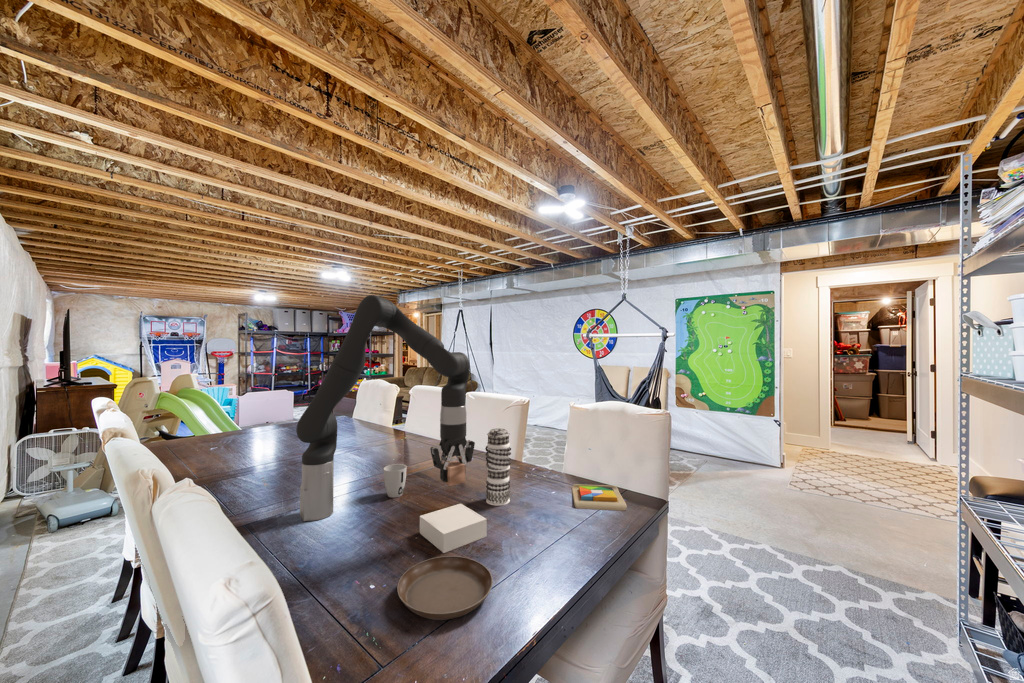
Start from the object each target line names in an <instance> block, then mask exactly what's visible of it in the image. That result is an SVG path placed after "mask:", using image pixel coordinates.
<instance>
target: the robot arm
mask: <svg viewBox="0 0 1024 683" xmlns="http://www.w3.org/2000/svg"><path fill="white" fill-rule="evenodd" d="M354 313H355V314H354V315H353V318H352V321H351V323H350V325H349V328H348V331H347V333H346V336H345V338H344V339H343V342H342V343H341V346H340V347H339V350H338V351H337V353H336V355H335V357H334V359H333V360H332V362H331V364H330V366H329V368H328V370H327V372H326V374H325V376H324V378H323V379H322V382H321V384H320V385H319V387H318V389H317V391H316V394H315V395H314V397H313V399H312V400H311V401H310V403H309V405H308V406H307V407H306V409H305V411H304V412H303V413H302V415H301V416H300V418H299V420H298V421H297V424H296V430H295V431H296V436H297V438H298V439H299V440H300V441H301V442H302V443H304V444H305V443H306V444H309V445H308V447H307V448H306V450H305V451H303V453H302V455H301V485H300V486H299V516H300V518H301V520H302V521H303V522H308V521H319V520H323V519H326V518H329V517H330V516H331V515H333V513H334V470H335V469H334V466H335V465H334V464H335V463H334V460H335V458H334V457H335V453H336V451H337V443H338V421H337V420H338V419H337V418H336V416H335V414H334V413H333V411H334V409H335V408H336V407H337V405H338V404H339V403H340V402H341V401H342V399H344V398H345V397H346V395H347V394H348V393H349V392H351V390H352V389H353V388H354V386H355V385H356V383H357V382H358V380H359V378H360V376H361V374H362V372H363V370H364V368H365V366H366V346H367V342H368V339H369V337H370V335H371V333H372V331H373V330H374V328H375V327H378V328H384V329H387V330H389V331H391V332H393V333H395V334H396V335H398V336H399V337H401V339H402V340H403V341H404V342H405V344H406V345H407V346H408V347H409V348H410V349H411V350H412V351H414V352H415V353H416V354H417V355H418V356H420V357H422V358H423V359H425V360H426V361H427V362H428V363H429V365H430V366H431V367H432V369H434V371H436V372H437V373H438V374H439V375H441V376H443V377H446V378H447V382H446V384H445V385H444V386H442V388H441V390H440V391H441V393H440V394H441V398H440V400H441V401H440V402H441V404H440V405H441V406H440V414H439V417H440V418H439V421H440V422H439V423H440V424H439V428H440V430H439V432H440V433H439V436H440V442H439V444H438V445H437V446H431V447H430V448H429V449H430V454H431V459H432V463H433V466H434V467H435V468H437V469H439V471H440V472H439V473H440V474H439V476H440V477H439V479H440V481H441V480H442V481H443V482H447V474H448V470H447V467H448V464H449V462H452V458H453V457H456V458H457V461H458V462H460V463H462V464H465V473H466V472H467V471H466V470H467V469H466V465H467V464H468V463H470V462H472V460H473V455H474V450H475V446H476V445H475V444H476V443H475V441H473V440H470V439H468V440H467V438H466V437H467V406H466V402H467V400H466V399H467V398H466V397H467V396H466V390H467V387H468V382H469V376H470V370H471V365H470V364H471V363H470V360H469V358H468V356H467V355H466V354H465V353H463V352H460V351H459V352H458V351H456V352H454V351H453V352H452V351H448V350H447V349H446V348H445V345H444V343H443V342H442V341H441V340H440V339H439V338H437V337H436V336H434V335H433V334H431V333H430V332H429V331H428V330H425V329H424V328H422V327H421V326H419V325H418V324H417V323H415V322H414V321H412V320H411V319H410V318H409V317H408V316H406V315H405V313H403V311H402V310H401V309H400V308H399V307H398V306H397V305H396V304H394V303H393V302H392V301H391V300H389V299H388V298H387V299H386V298H384V297H381V296H377V295H374V294H370V295H369V294H368V295H367V296H365V297H364V298H362V299H361V301H360V303H359V304H358V306H357V308H356V311H355V312H354ZM464 449H465V451H464ZM441 451H442V452H441ZM440 454H441V456H440ZM442 481H441V482H442ZM443 482H442V483H443Z"/></svg>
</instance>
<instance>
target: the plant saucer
mask: <svg viewBox="0 0 1024 683" xmlns="http://www.w3.org/2000/svg"><path fill="white" fill-rule="evenodd" d="M493 583H494V580H493V576H492V573H491V571H490V570H489V569H488V567H487V566H486V565H484V564H483V563H481V562H480V561H478V560H475V559H472V558H469V557H465V556H459V555H444V556H437V557H432V558H428V559H426V560H423V561H420V562H418V563H416V564H415V565H412V566H411V567H410V568H408V569H407V570H406V571H405V572H404V573H403V574H402V575H401V576H400V578H399V580H398V583H397V587H396V588H397V595H398V597H399V599H400V601H401V602H402V604H403V605H404V606H405V607H406V608H407V609H408V610H410V611H411V612H412V613H414V614H415V615H417V616H419V617H422V618H425V619H429V620H435V621H446V620H452V619H458V618H460V617H463V616H465V615H467V614H469V613H470V612H472V611H473V610H475V609H476V608H478V607H479V606H480V605H481V604H483V602H484V601H485V599H486V598H487V597H488V595H489V594H490V592H491V590H492V587H493Z"/></svg>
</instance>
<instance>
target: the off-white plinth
mask: <svg viewBox="0 0 1024 683" xmlns="http://www.w3.org/2000/svg"><path fill="white" fill-rule="evenodd" d="M487 520H488V519H487V518H486V517H484V516H482V515H480V514H479V513H477V512H476V511H474V510H473V509H471V508H469V507H467V506H466V505H464V504H463V503H461V502H460V503H457V504H454V505H451V506H448V507H445V508H442V509H439V510H438V509H437V510H435V511H431V512H428V513H425V514H421V515H419V534H420V535H421V536H422V537H423V538H425V539H426V540H427V541H428V542H430V543H431V544H432V545H434V546H435V547H436V549H438V550H439V551H441V553H443V554H446V553H448V552H450V551H454V550H455V549H456V550H457V549H458V548H460V547H464V546H465V545H469V544H471V543H474V542H476V541H478V540H481V539H484V538H487V536H488V535H487V529H488V528H487V526H488V524H487V523H488V521H487Z"/></svg>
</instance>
